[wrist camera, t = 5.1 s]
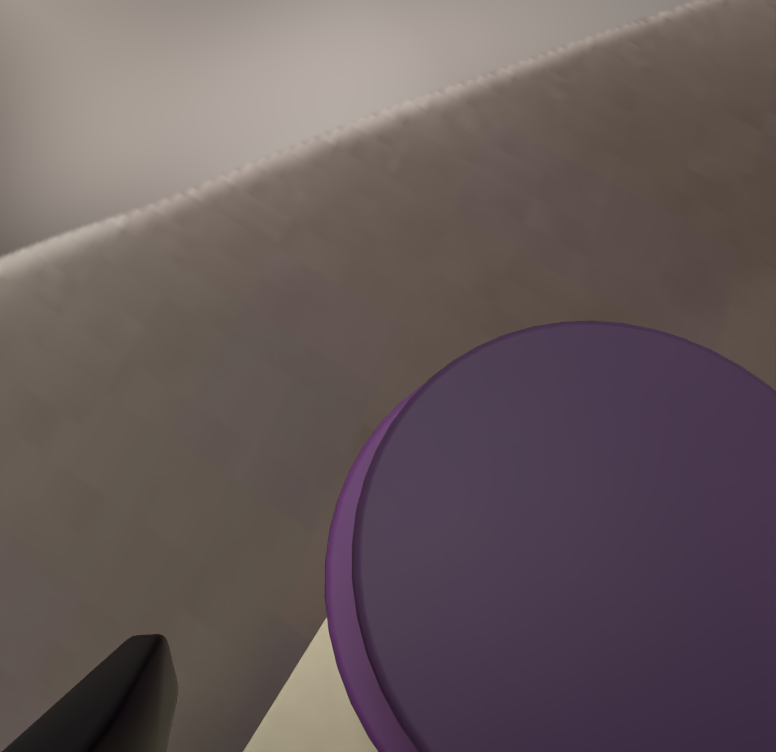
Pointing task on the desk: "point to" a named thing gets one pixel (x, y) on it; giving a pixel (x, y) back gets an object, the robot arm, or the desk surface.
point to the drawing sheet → (312, 709)
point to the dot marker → (564, 552)
